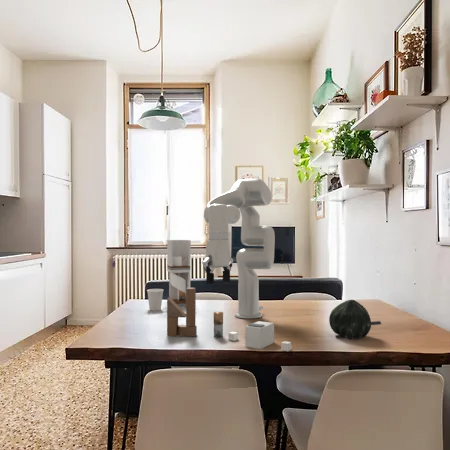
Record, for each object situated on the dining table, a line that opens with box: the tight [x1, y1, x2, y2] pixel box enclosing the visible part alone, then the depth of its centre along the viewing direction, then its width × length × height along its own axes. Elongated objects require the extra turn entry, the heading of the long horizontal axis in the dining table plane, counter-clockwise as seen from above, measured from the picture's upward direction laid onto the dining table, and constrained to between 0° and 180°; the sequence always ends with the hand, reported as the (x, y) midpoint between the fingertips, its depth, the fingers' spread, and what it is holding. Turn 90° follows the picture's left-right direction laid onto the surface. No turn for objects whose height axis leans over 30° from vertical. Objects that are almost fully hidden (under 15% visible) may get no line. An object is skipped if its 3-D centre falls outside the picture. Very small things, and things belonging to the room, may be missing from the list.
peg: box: [213, 311, 224, 339], centre depth 157 cm, size 4×4×9 cm
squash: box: [328, 299, 372, 340], centre depth 157 cm, size 14×15×15 cm
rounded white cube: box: [228, 331, 239, 342], centre depth 152 cm, size 2×2×2 cm
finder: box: [244, 320, 275, 350], centre depth 146 cm, size 10×6×7 cm, turn 147°
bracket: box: [371, 320, 382, 326], centre depth 185 cm, size 14×15×3 cm
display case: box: [166, 239, 192, 307], centre depth 229 cm, size 11×11×35 cm
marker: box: [280, 340, 292, 352], centre depth 139 cm, size 2×2×2 cm
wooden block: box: [166, 287, 198, 338], centre depth 159 cm, size 4×11×18 cm, turn 83°
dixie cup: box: [146, 288, 164, 312], centre depth 212 cm, size 8×8×10 cm
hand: (218, 282), depth 157 cm, fingers open, 9 cm apart
